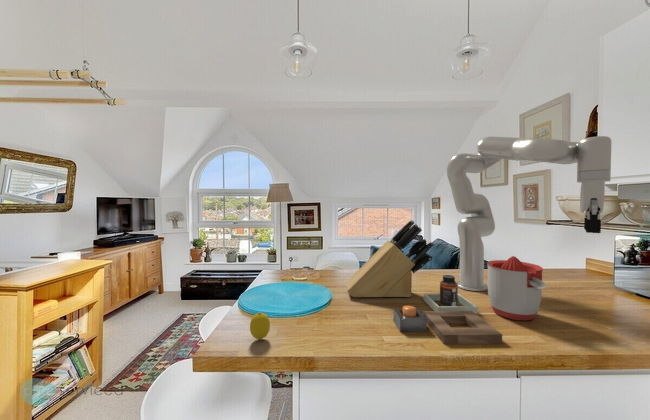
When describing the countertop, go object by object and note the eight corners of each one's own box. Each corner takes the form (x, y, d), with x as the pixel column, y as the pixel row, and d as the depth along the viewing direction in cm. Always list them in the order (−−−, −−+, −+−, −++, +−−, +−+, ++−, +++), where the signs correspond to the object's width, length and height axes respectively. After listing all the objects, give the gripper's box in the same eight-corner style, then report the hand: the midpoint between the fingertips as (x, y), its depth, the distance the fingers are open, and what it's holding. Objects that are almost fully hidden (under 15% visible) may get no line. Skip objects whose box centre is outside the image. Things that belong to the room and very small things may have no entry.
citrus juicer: (522, 330, 82) (523, 264, 81) (476, 308, 98) (476, 253, 98) (560, 323, 86) (561, 260, 85) (509, 303, 103) (510, 250, 102)
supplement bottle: (459, 310, 97) (459, 278, 96) (441, 309, 98) (441, 278, 98) (455, 304, 103) (455, 274, 102) (438, 303, 104) (438, 273, 103)
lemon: (252, 335, 80) (251, 309, 80) (271, 334, 81) (270, 308, 81) (248, 345, 75) (247, 316, 75) (268, 344, 75) (268, 316, 75)
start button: (401, 317, 87) (401, 305, 87) (413, 317, 87) (413, 305, 87) (404, 323, 83) (404, 310, 83) (417, 323, 83) (417, 310, 83)
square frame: (422, 318, 90) (422, 311, 90) (471, 318, 90) (471, 310, 90) (443, 343, 74) (443, 334, 74) (502, 343, 74) (502, 334, 74)
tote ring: (423, 299, 107) (423, 293, 107) (458, 299, 107) (458, 293, 107) (437, 314, 94) (437, 307, 93) (477, 314, 93) (477, 306, 93)
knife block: (435, 298, 109) (435, 221, 108) (347, 298, 110) (346, 222, 109) (425, 289, 120) (425, 219, 119) (345, 289, 121) (345, 220, 120)
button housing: (393, 320, 89) (393, 308, 89) (417, 319, 89) (417, 307, 89) (399, 331, 81) (399, 318, 81) (426, 331, 81) (426, 318, 81)
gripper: (576, 179, 94) (575, 228, 95) (577, 176, 82) (576, 233, 82) (607, 177, 89) (605, 229, 90) (614, 174, 77) (612, 235, 77)
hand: (591, 231), depth 86 cm, fingers open, 9 cm apart
